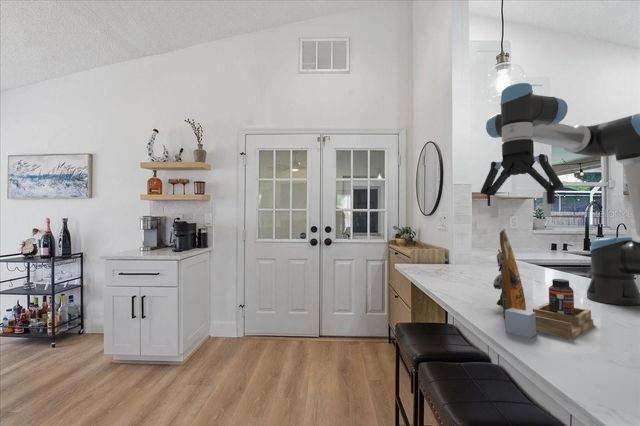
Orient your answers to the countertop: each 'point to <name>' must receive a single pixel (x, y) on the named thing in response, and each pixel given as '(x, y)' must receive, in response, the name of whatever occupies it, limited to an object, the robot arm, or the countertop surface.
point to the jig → (562, 322)
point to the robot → (499, 277)
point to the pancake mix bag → (510, 278)
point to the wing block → (520, 322)
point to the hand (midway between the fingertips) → (519, 217)
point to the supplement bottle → (561, 297)
